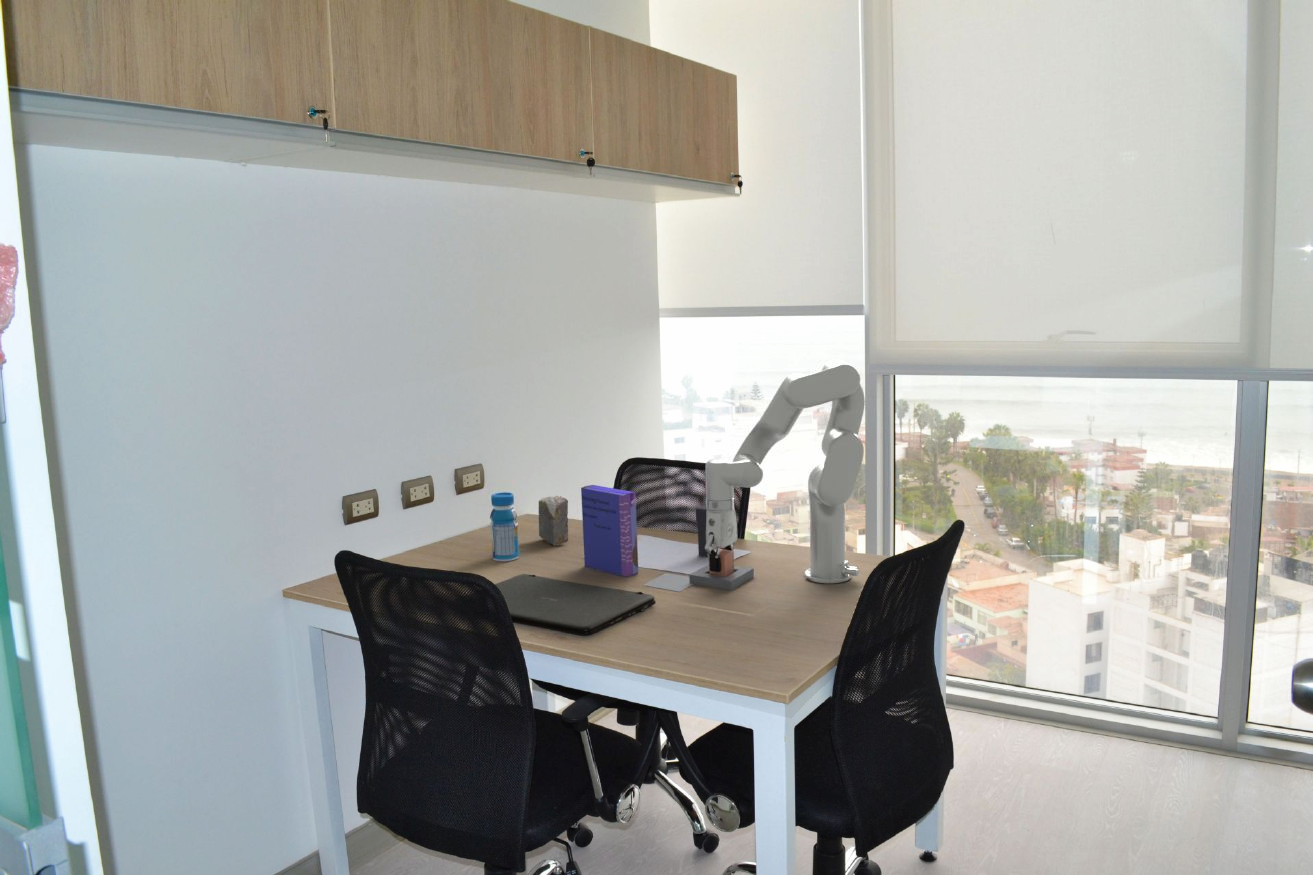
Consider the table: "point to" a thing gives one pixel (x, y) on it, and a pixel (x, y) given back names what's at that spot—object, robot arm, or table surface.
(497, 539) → the beverage bottle
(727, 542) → the robot arm
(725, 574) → the block
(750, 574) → the pocket tray
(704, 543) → the grey and red box
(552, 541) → the geological specimen
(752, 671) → the table surface
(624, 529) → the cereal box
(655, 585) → the mat
